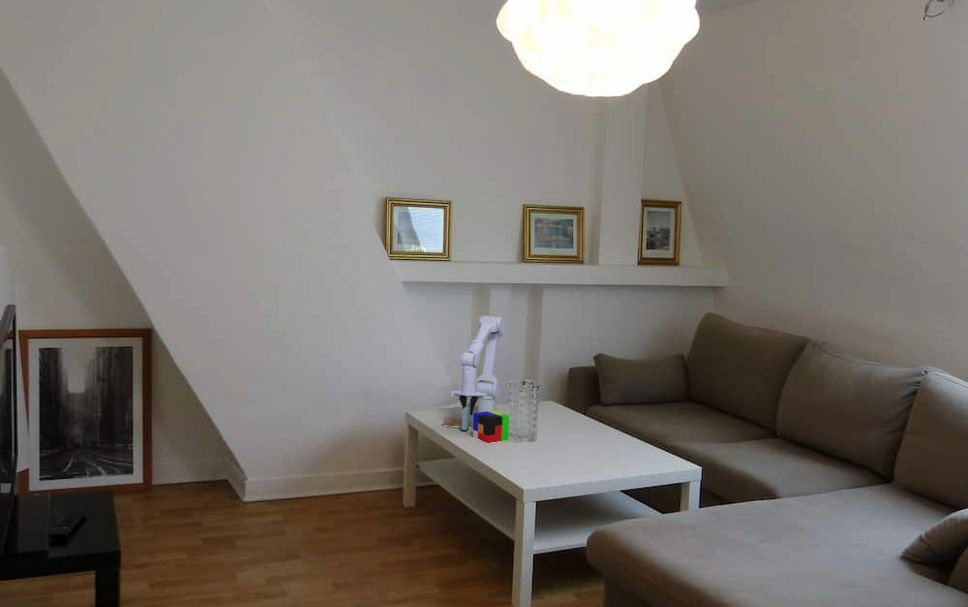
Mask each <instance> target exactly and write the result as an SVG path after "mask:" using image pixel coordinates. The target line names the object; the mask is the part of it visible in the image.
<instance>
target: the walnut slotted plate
mask: <svg viewBox="0 0 968 607" xmlns="http://www.w3.org/2000/svg"><path fill="white" fill-rule="evenodd" d="M444 425H449V426H460V427H462V417H461V418H460V417H446V416H444V417H443V426H444ZM469 427H471V428H473V419H472V423H469Z"/></svg>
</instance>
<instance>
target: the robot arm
mask: <svg viewBox="0 0 968 607" xmlns="http://www.w3.org/2000/svg"><path fill="white" fill-rule="evenodd" d="M478 329H479V330H478V332H477V334H476V336H475V339H472V341H471V342H470V344H469V345H468V348H467V350H466V351H465V352H463V353H462V354H461V356H460V365H461V371H462V382H461V384H462V385H461V390H451V391H450V396H451V397H459V398H458V400H459V403H460V405H461V407H462V410H463V409H464V408H465V407H466V406H467V404H468V403H467V402H468V398H470V400H469V402H470V404H471V408H470V415H472V414H473V410H474V411H475V407H476V404H477V413H479V412H486V411H493V410H494V411H496V398H497V397H498V396H499V395H500V380H499V379H498V378H497V376H495V371H496V363H497V358H498V357H497V355H498V347H499V341H500V338H501V337H503V336H504V331H505V319H504V318H503V317H502V316H494V315H484V314H481V315H480V317H479V318H478ZM486 339H487V340H486ZM485 341H486V346H485ZM485 347H486V349H485V355H484V363H483V370H482V374H481V375H480V376H478V375H477V374H478V370H477V369H478V367H479V365H480V361H481V355H482V353H483V352H484V351H483V350H484V348H485Z"/></svg>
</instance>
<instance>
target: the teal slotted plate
mask: <svg viewBox="0 0 968 607" xmlns="http://www.w3.org/2000/svg"><path fill="white" fill-rule="evenodd" d="M470 408H471V404H470V401H469V403H467V406H466V407H465V408H464V409H463V408H462V410H461V412H462V413H461V418H462V428H461V430H465V431H466V430H468V428H469V423H472V419H473V415H474V413H475V409H474V410H473V414H472V415H470Z"/></svg>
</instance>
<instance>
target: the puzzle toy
mask: <svg viewBox="0 0 968 607" xmlns="http://www.w3.org/2000/svg"><path fill="white" fill-rule="evenodd" d="M509 429H510V415H508V414H506V413H504V412H503V413H502V412H499V411H497V410H495V411H494V410H493V411H486V412H479V413H478V412H474V415H473V429H472V438H473V437H475V438H478V439H480V440H482V441H484V442H487V443H490V444H492V443H491V442H496V443H498V442H497V441H502V442H504V441H503V440H508V441H509V435H510V434H509V431H510V430H509ZM482 441H481V442H482ZM484 442H483V443H484ZM487 443H486V444H487Z"/></svg>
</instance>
